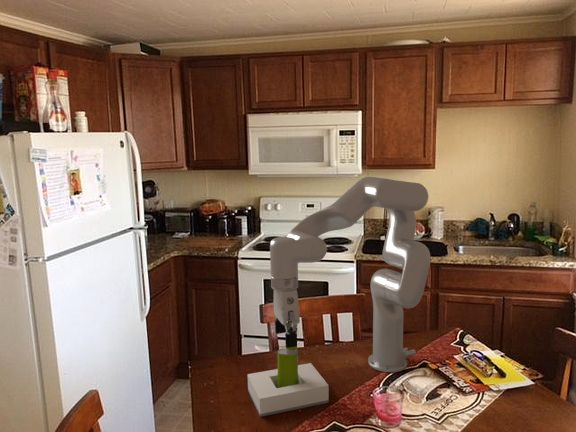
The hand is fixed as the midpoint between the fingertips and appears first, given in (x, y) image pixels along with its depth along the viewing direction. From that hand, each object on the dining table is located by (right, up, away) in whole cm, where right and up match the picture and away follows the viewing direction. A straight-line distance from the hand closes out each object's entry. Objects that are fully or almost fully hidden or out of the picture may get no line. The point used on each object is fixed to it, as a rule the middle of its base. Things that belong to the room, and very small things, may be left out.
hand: (285, 339), depth 136 cm
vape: (+1, -17, +4) cm, 17 cm away
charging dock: (0, -17, +3) cm, 18 cm away
